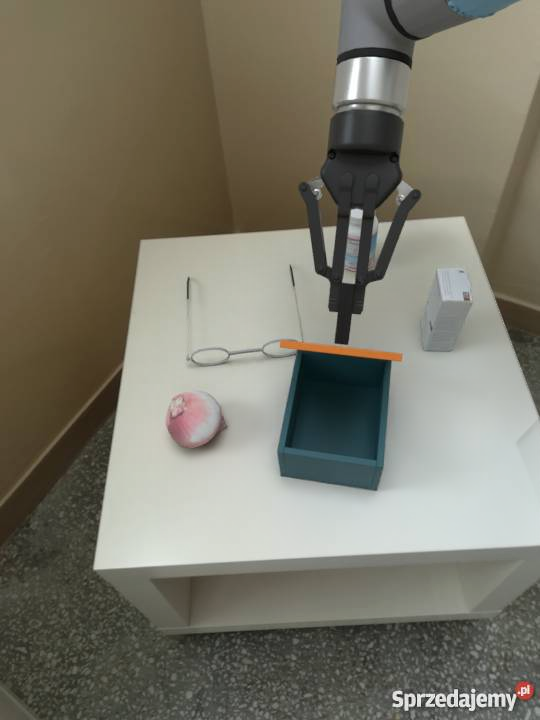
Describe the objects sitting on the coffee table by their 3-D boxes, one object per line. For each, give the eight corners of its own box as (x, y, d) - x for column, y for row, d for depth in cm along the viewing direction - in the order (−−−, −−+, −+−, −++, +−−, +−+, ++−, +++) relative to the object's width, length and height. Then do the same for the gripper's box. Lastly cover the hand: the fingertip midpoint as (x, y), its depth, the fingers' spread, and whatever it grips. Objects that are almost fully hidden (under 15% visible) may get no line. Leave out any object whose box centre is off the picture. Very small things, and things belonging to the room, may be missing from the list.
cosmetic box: (419, 320, 83) (434, 265, 73) (449, 320, 82) (467, 265, 72) (423, 353, 79) (439, 300, 69) (454, 353, 79) (474, 300, 69)
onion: (181, 401, 78) (169, 375, 72) (232, 407, 76) (225, 381, 70) (166, 451, 73) (152, 428, 67) (220, 459, 72) (211, 436, 66)
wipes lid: (401, 361, 54) (402, 353, 54) (279, 347, 56) (280, 339, 56) (391, 358, 70) (392, 352, 70) (297, 347, 72) (297, 341, 72)
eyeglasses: (188, 369, 80) (183, 354, 77) (188, 280, 91) (183, 263, 88) (306, 355, 80) (305, 339, 77) (291, 267, 91) (290, 250, 88)
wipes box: (376, 491, 68) (383, 467, 62) (280, 476, 70) (276, 451, 64) (385, 387, 76) (391, 357, 70) (299, 377, 78) (297, 346, 72)
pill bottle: (364, 242, 93) (369, 190, 83) (380, 265, 89) (388, 213, 80) (332, 253, 92) (334, 201, 83) (347, 277, 89) (351, 225, 79)
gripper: (429, 127, 57) (399, 343, 62) (308, 122, 59) (289, 331, 64) (437, 109, 49) (403, 355, 54) (299, 103, 52) (278, 341, 57)
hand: (341, 342), depth 59 cm, fingers closed
